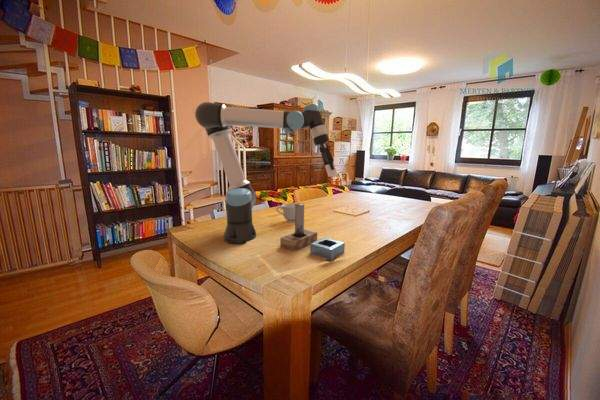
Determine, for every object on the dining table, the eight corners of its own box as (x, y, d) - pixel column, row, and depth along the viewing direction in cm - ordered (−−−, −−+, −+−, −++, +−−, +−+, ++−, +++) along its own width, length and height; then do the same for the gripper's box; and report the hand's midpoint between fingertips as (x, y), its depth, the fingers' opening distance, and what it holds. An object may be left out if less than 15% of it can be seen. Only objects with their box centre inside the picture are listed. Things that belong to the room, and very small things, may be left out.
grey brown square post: (297, 245, 112) (297, 205, 108) (293, 243, 115) (293, 203, 112) (305, 244, 114) (306, 204, 110) (300, 241, 117) (301, 202, 114)
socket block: (330, 262, 99) (331, 249, 98) (310, 255, 105) (310, 243, 104) (344, 254, 106) (344, 242, 105) (324, 248, 112) (324, 237, 111)
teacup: (276, 219, 157) (276, 203, 155) (300, 218, 159) (300, 202, 157) (276, 224, 146) (276, 207, 144) (303, 224, 147) (303, 207, 145)
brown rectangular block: (294, 253, 106) (294, 242, 105) (280, 248, 111) (280, 237, 110) (317, 242, 118) (317, 232, 117) (303, 239, 123) (303, 229, 122)
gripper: (330, 128, 115) (344, 174, 117) (324, 137, 140) (336, 174, 142) (314, 134, 115) (328, 179, 117) (311, 141, 140) (323, 178, 142)
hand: (332, 176), depth 130 cm, fingers open, 13 cm apart
